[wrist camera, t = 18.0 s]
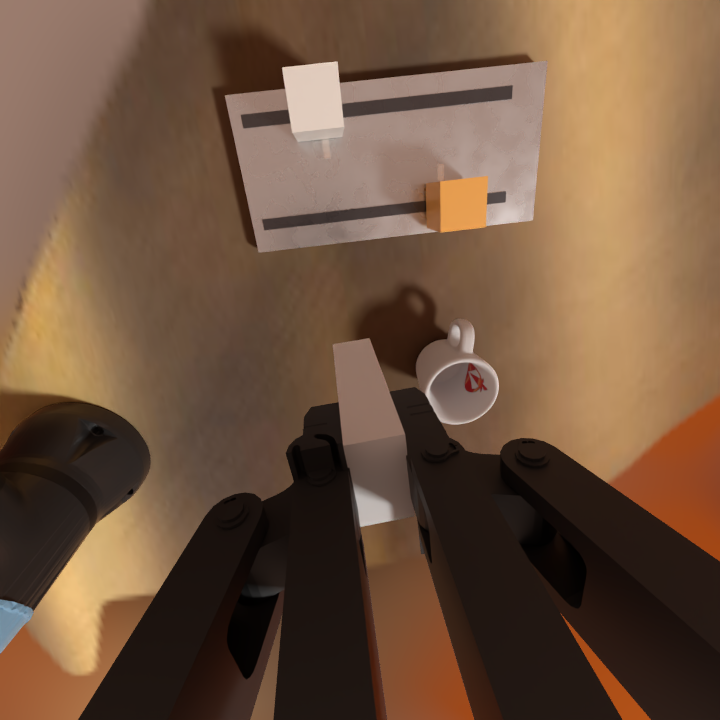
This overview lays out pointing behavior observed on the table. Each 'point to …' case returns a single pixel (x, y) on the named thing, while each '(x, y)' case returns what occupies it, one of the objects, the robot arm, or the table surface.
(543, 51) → the table surface
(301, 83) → the block
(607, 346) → the table surface
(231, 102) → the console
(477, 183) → the fader
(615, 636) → the robot arm
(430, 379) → the cup
